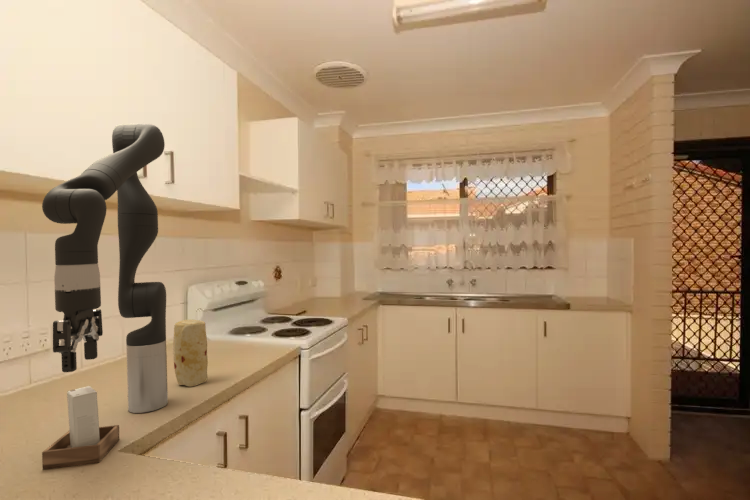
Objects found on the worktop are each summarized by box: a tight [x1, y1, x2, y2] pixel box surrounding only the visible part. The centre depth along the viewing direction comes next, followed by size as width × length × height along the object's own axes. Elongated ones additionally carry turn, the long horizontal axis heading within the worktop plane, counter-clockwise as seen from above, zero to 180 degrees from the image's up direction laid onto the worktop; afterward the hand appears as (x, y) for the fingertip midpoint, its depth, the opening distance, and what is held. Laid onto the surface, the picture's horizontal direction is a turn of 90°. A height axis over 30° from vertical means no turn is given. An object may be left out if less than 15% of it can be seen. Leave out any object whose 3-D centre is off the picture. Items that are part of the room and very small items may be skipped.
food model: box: [172, 318, 209, 388], centre depth 123 cm, size 10×7×20 cm
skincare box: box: [66, 385, 100, 448], centre depth 82 cm, size 6×4×12 cm
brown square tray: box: [41, 424, 120, 470], centre depth 82 cm, size 10×10×3 cm
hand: (80, 364), depth 82 cm, fingers open, 8 cm apart
